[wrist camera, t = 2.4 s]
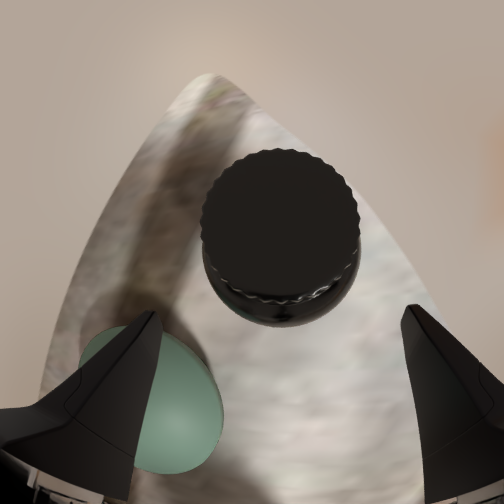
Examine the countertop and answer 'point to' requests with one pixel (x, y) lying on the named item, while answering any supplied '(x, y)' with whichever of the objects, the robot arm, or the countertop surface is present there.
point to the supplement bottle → (280, 238)
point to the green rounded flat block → (174, 408)
